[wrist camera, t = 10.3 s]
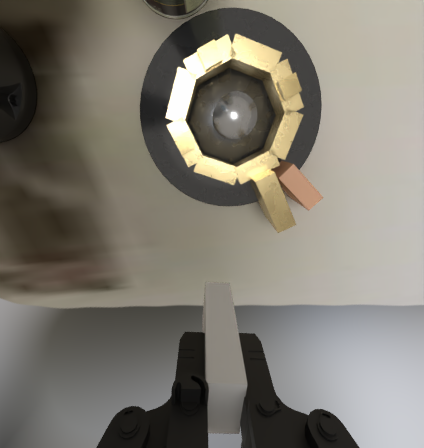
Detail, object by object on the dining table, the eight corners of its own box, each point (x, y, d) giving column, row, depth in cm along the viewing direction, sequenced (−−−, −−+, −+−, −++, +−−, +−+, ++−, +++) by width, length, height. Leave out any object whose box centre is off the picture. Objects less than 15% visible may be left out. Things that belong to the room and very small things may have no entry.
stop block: (265, 171, 37) (278, 178, 31) (277, 159, 37) (293, 164, 30) (291, 198, 39) (308, 210, 32) (302, 187, 38) (323, 197, 32)
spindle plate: (111, 66, 32) (86, 47, 26) (286, -21, 30) (309, -67, 23) (187, 225, 40) (183, 242, 33) (332, 166, 37) (360, 172, 31)
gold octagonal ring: (151, 89, 31) (137, 76, 25) (262, 25, 29) (278, -8, 23) (226, 234, 38) (231, 254, 31) (320, 189, 36) (346, 201, 30)
